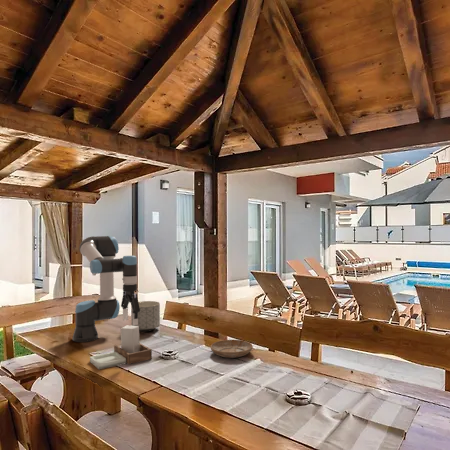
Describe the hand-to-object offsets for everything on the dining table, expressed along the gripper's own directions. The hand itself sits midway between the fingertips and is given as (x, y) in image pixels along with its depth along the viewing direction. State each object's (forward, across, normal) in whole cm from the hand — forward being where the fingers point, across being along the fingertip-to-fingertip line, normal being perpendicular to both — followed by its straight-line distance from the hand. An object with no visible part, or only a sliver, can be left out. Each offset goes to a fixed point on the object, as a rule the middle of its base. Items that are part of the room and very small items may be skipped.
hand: (130, 322), depth 209 cm
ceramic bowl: (+19, +32, +45) cm, 59 cm away
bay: (+18, +2, 0) cm, 18 cm away
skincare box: (+18, 0, 0) cm, 18 cm away
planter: (+18, -42, +29) cm, 54 cm away
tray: (+18, +4, -14) cm, 23 cm away
